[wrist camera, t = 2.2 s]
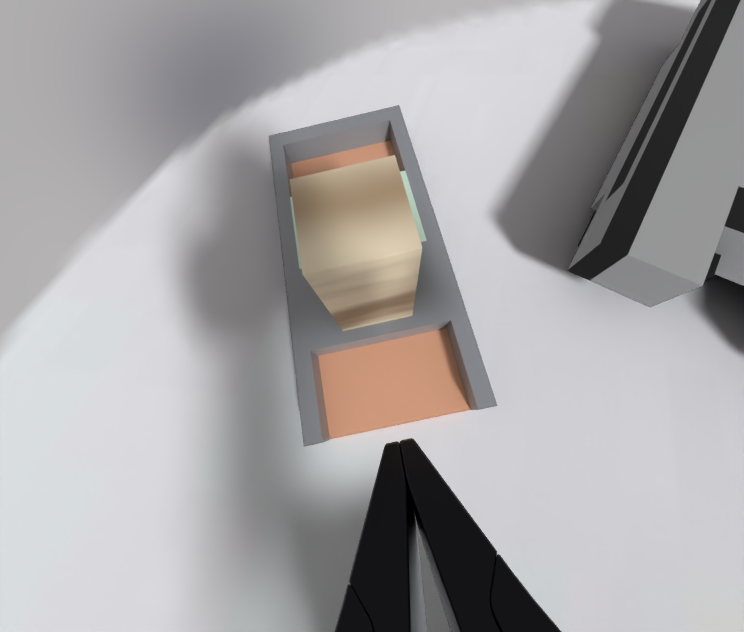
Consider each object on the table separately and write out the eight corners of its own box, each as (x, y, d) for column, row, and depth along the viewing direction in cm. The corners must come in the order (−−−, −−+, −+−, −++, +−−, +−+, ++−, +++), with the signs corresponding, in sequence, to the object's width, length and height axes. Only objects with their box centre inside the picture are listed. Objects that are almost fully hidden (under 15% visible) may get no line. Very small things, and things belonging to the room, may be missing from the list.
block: (412, 315, 20) (422, 247, 12) (343, 331, 20) (302, 274, 12) (396, 254, 22) (395, 155, 13) (332, 269, 22) (289, 179, 13)
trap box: (485, 406, 20) (497, 405, 18) (314, 442, 20) (303, 446, 18) (399, 130, 29) (399, 105, 26) (279, 158, 29) (268, 135, 27)
